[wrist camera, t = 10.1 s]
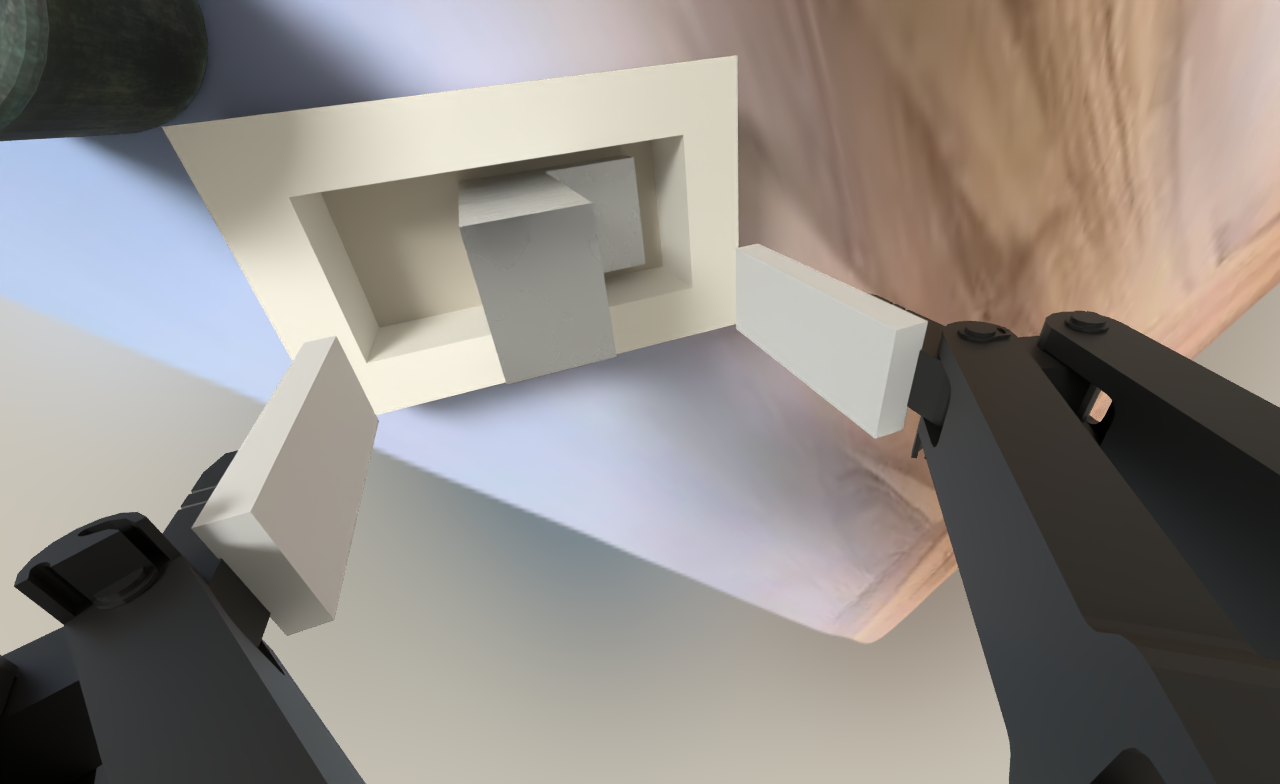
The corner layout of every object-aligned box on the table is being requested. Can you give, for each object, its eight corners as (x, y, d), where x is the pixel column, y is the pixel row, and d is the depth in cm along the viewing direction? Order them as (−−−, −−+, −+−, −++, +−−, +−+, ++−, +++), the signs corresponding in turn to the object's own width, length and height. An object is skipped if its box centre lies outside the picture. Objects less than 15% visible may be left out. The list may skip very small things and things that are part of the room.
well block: (223, 124, 23) (161, 127, 18) (689, 65, 28) (737, 55, 23) (349, 377, 30) (329, 426, 26) (700, 295, 35) (739, 323, 31)
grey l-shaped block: (458, 181, 26) (458, 227, 16) (623, 154, 28) (724, 178, 18) (488, 287, 30) (506, 384, 19) (635, 256, 32) (727, 328, 21)
